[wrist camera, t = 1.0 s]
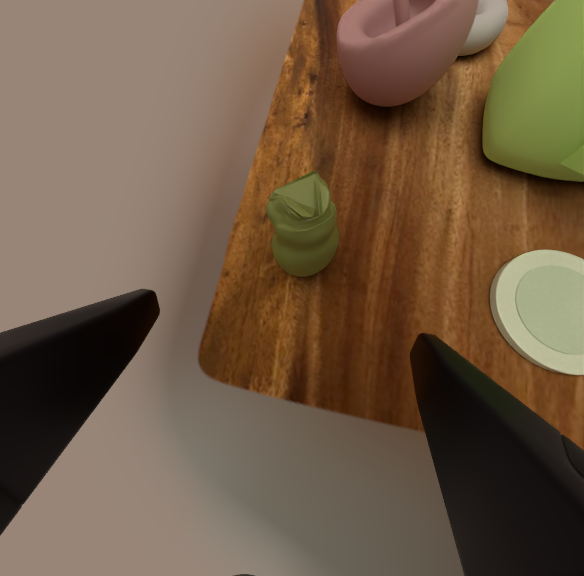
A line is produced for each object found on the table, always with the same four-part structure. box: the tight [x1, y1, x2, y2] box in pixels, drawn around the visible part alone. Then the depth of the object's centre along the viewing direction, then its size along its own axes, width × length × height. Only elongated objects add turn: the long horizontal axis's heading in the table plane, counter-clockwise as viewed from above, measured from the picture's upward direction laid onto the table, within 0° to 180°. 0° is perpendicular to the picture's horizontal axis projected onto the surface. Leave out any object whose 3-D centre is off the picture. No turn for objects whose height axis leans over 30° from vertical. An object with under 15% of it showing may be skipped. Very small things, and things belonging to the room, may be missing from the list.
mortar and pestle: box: [337, 0, 479, 107], centre depth 23 cm, size 12×12×12 cm
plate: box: [490, 250, 584, 375], centre depth 21 cm, size 11×11×1 cm
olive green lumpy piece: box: [266, 171, 339, 277], centre depth 19 cm, size 6×5×10 cm
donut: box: [458, 0, 509, 56], centre depth 29 cm, size 10×4×10 cm
